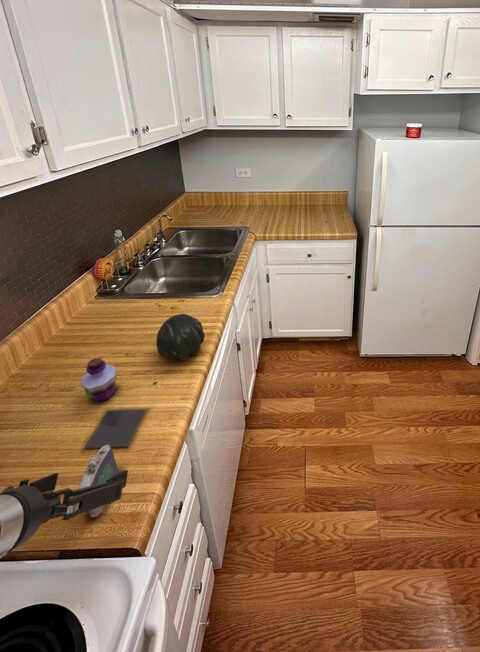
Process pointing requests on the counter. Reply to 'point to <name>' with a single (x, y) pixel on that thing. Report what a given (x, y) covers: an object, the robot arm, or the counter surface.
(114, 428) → the slate coaster
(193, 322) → the squash
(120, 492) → the robot arm
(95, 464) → the flask
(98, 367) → the potion bottle
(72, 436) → the counter surface
